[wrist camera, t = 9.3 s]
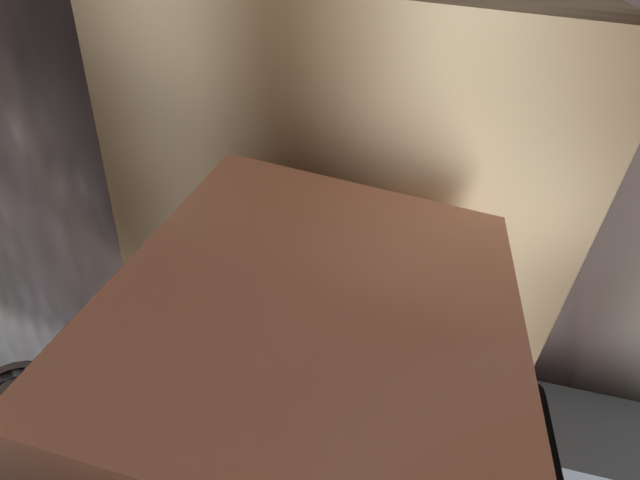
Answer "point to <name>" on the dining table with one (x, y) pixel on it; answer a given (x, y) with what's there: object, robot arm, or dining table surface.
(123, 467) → the terracotta cube
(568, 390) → the slate block
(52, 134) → the dining table surface
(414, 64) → the beech block
